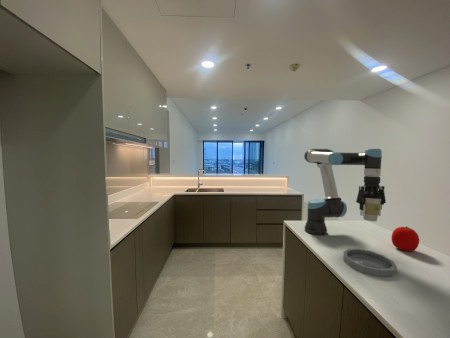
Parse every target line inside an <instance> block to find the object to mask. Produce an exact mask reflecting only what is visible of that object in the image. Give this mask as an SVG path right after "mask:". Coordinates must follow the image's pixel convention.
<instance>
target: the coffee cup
mask: <svg viewBox="0 0 450 338" xmlns="http://www.w3.org/2000/svg"><path fill="white" fill-rule="evenodd" d="M363 197H365V198H366V201H365V203H364V205H366V206H365V216H362V217H363V221H369V222H377V221H378V218H379V216H378V214H379V209H380V204H381V203H380V202H381V199H382V197H381V194H373V193H370V194H363Z"/></svg>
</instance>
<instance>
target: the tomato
mask: <svg viewBox="0 0 450 338" xmlns="http://www.w3.org/2000/svg"><path fill="white" fill-rule="evenodd" d="M390 240H391V243H392V245H393V246H394V247H395V248H396V249H399V250H401V251H405V252H414V251H415V250H417V248H419V244H420V237H419V234H418V232H417V231H415V229H413V228H410V227H408V226H398V227H396V228H395V229H394V230H393V231H392V234H391V239H390Z"/></svg>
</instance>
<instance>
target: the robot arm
mask: <svg viewBox="0 0 450 338" xmlns="http://www.w3.org/2000/svg"><path fill="white" fill-rule="evenodd" d="M382 153H383V151H382V149H381V148H367V149H365V150H364V152H335V151H334V150H333V149H330V148H310V149H307V150H306V151H305V152H304V155H303V159H304V160H305V161H306V162H307V163H311V164H316V165H317V168H319V170H320V175H321V180H322V187H323V191H324V198H323V199H322V198H313V199H310V200H309V201H308V202H307V219H306V222H305V224H304V231H305V232H306V233H308V234H310V235H316V236H325V235H328V229H327V225H326V220H325V219H326V218H336V219H337V218H342V217H344V216H345V215H346V214H347V211H348V207H347V203H346V202H345V201H342V197H340V196H339V194H338V188H337V184H336V180H335V176H334V169H333V166H364V167H363V169H364V170H363V183H364V184H363V185H359V186H358V192H357V197H356V201H355V202H356V203H357V204H358V207H359V216H362V217H363V216H365V206H366V205H364V203H365V201H366V198H365V197H363V194H370V193H373V194H381V197H382V199H381V202H380V203H381V204H380V209H379V214H378V217H381V214H382V212H381V211H382V208H383V206H384V204H386V203H387V202H386V201H387V200H386V195H385V193H386V192H385V185H380V184H381V175H382V174H381V173H382V172H381V171H382V157H383V155H382Z"/></svg>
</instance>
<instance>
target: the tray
mask: <svg viewBox="0 0 450 338" xmlns="http://www.w3.org/2000/svg"><path fill="white" fill-rule="evenodd" d="M342 258H343V262H344V263H346V265H348V266H349V267H350V268H352V269H354V270H357V271H358V272H360V273H363V274H366V275H369V276H370V275H371V276H374V277H380V278H384V277H385V278H387V277H389V278H390V277H393V276H394V275H396V273H397V269H398V267H397V265H396V263H395V261H394V260H392V259H390V258H389V257H387V256H385V255H383V254H380V253H378V252H375V251H372V250H368V249H361V248H348V249H346V250H343V257H342Z"/></svg>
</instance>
